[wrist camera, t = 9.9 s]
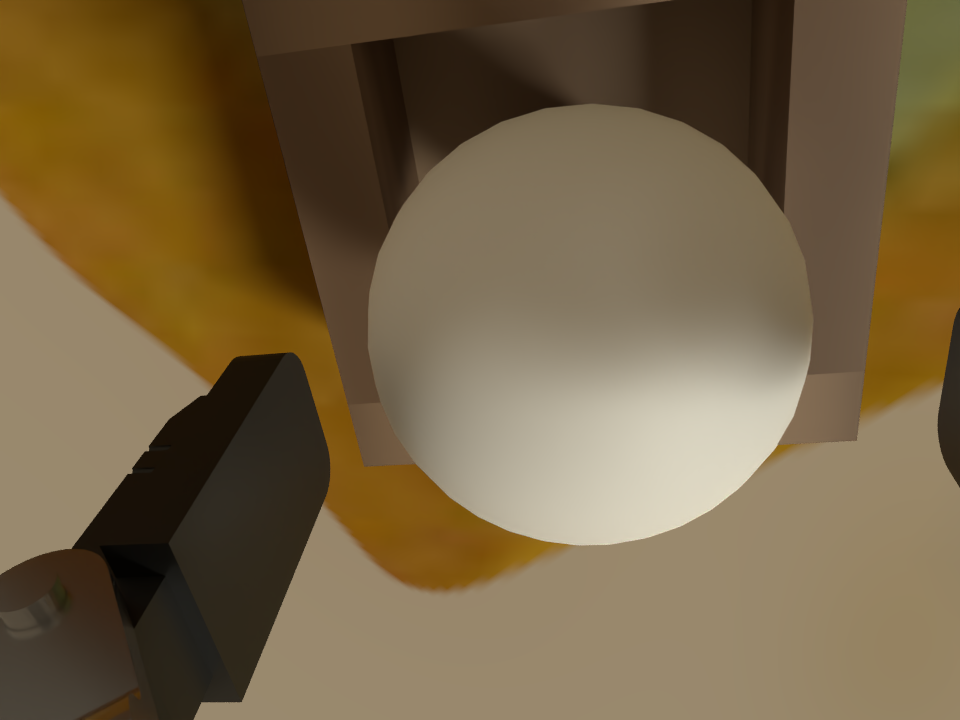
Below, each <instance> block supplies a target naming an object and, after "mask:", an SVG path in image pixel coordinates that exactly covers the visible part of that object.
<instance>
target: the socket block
mask: <svg viewBox="0 0 960 720" xmlns="http://www.w3.org/2000/svg"><path fill="white" fill-rule="evenodd" d="M242 3H243V6H244V10H245V14H246V18H247V22H248V25H249V29H250V33H251V37H252V41H253V44H254V48H255V52H256V56H257V60H258V63H259V67H260V71H261V75H262V79H263V82H264V86H265V90H266V94H267V98H268V102H269V105H270V109H271V113H272V117H273V121H274V124H275V128H276V132H277V136H278V140H279V143H280V147H281V151H282V155H283V159H284V162H285V166H286V170H287V174H288V178H289V181H290V185H291V189H292V193H293V197H294V201H295V204H296V208H297V212H298V216H299V220H300V223H301V227H302V231H303V235H304V239H305V242H306V246H307V250H308V254H309V258H310V261H311V265H312V269H313V273H314V277H315V280H316V284H317V288H318V292H319V296H320V300H321V303H322V307H323V311H324V315H325V319H326V322H327V326H328V330H329V334H330V338H331V341H332V345H333V349H334V353H335V357H336V360H337V364H338V368H339V372H340V376H341V379H342V383H343V387H344V391H345V395H346V399H347V402H348V406H349V410H350V414H351V418H352V421H353V425H354V429H355V433H356V437H357V440H358V444H359V448H360V452H361V456H362V459H363V463H364V466H383V465H402V464H415V462H414V461H413V460H412V458H411V457H410V455H409V454H408V452H407V451H406V450H405V448H404V447H403V445H402V444H401V442H400V441H399V439H398V438H397V437H396V435H395V434H394V431H393V429H392V427H391V425H390V422H389V420H388V418H387V415H386V413H385V411H384V408H383V406H382V404H381V402H380V398H379V395H378V391H377V388H376V385H375V380H374V375H373V370H372V365H371V360H370V356H369V351H368V307H369V292H370V287H371V283H372V279H373V274H374V270H375V266H376V261H377V257H378V253H379V251H380V249H381V247H382V245H383V243H384V241H385V239H386V237H387V234H388V232H389V230H390V228H391V226H392V224H393V222H394V220H395V218H396V216H397V214H398V212H399V211H400V209H401V208H402V206H403V204H404V203H405V202H406V200H407V199H408V198H409V196H410V195H411V194H412V193H413V191H414V190H415V189H416V187H417V186H418V185H419V183H420V182H421V181H422V180H423V178H424V177H425V176H426V174H427V173H428V172H429V171H430V170H431V169H432V168H433V167H435V166H436V165H437V164H438V163H439V162H441V161H442V160H443V159H444V158H445V157H446V156H448V155H449V154H450V153H451V152H452V151H453V150H455V149H456V148H457V147H458V146H459V145H461V144H462V143H464V142H465V141H467V140H469V139H471V138H473V137H474V136H476V135H478V134H480V133H482V132H484V131H485V130H487V129H489V128H491V127H493V126H495V125H496V124H498V123H500V122H502V121H506V120H509V119H512V118H515V117H519V116H522V115H525V114H528V113H532V112H535V111H538V110H541V109H545V108H553V107H563V106H573V105H583V104H601V105H611V106H621V107H631V108H640V109H643V110H646V111H649V112H652V113H655V114H659V115H662V116H665V117H668V118H671V119H675V120H678V121H681V122H684V123H685V124H687V125H689V126H691V127H692V128H694V129H696V130H698V131H700V132H701V133H703V134H705V135H707V136H708V137H710V138H712V139H714V140H715V141H717V142H719V143H721V144H722V145H724V146H725V147H726V148H727V149H728V150H729V151H730V152H731V153H732V154H734V155H735V156H736V157H737V158H738V159H739V160H740V161H741V162H742V163H744V164H745V165H746V166H747V167H748V168H749V169H750V170H751V171H752V172H754V173H755V174H756V176H757V177H758V178H759V180H760V181H761V182H762V184H763V185H764V186H765V188H766V189H767V191H768V192H769V194H770V195H771V196H772V198H773V199H774V201H775V202H776V204H777V205H778V206H779V208H780V209H781V211H782V212H783V214H784V215H785V216H786V218H787V219H788V221H789V222H790V225H791V227H792V230H793V232H794V235H795V237H796V240H797V242H798V245H799V247H800V250H801V252H802V255H803V257H804V260H805V264H806V271H807V278H808V285H809V291H810V298H811V305H812V313H813V332H812V344H811V356H810V363H809V367H808V371H807V375H806V379H805V382H804V386H803V389H802V392H801V395H800V398H799V401H798V404H797V407H796V411H795V414H794V417H793V418H792V420H791V422H790V423H789V425H788V427H787V429H786V430H785V432H784V434H783V436H782V437H781V439H780V441H779V443H778V444H777V445H782V444H801V443H820V442H838V441H856V440H857V434H858V425H859V417H860V408H861V399H862V390H863V382H864V373H865V364H866V356H867V347H868V338H869V329H870V321H871V312H872V303H873V295H874V286H875V277H876V268H877V260H878V251H879V242H880V233H881V225H882V216H883V207H884V199H885V190H886V181H887V172H888V164H889V155H890V146H891V138H892V129H893V120H894V111H895V103H896V94H897V85H898V76H899V68H900V59H901V50H902V42H903V33H904V24H905V15H906V7H907V0H242Z"/></svg>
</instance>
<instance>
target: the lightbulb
mask: <svg viewBox="0 0 960 720" xmlns="http://www.w3.org/2000/svg"><path fill="white" fill-rule="evenodd" d="M812 332H813V313H812V305H811V298H810V291H809V285H808V278H807V271H806V264H805V260H804V257H803V255H802V252H801V250H800V247H799V245H798V242H797V240H796V237H795V235H794V232H793V230H792V227H791V225H790V222H789V221H788V219H787V218H786V216H785V215H784V214H783V212H782V211H781V209H780V208H779V206H778V205H777V204H776V202H775V201H774V199H773V198H772V196H771V195H770V194H769V192H768V191H767V189H766V188H765V186H764V185H763V184H762V182H761V181H760V180H759V178H758V177H757V176H756V174H755V173H754V172H752V171H751V170H750V169H749V168H748V167H747V166H746V165H745V164H744V163H742V162H741V161H740V160H739V159H738V158H737V157H736V156H735V155H734V154H732V153H731V152H730V151H729V150H728V149H727V148H726V147H725V146H724V145H722V144H721V143H719V142H717V141H715V140H714V139H712V138H710V137H708V136H707V135H705V134H703V133H701V132H700V131H698V130H696V129H694V128H692V127H691V126H689V125H687V124H685V123H684V122H681V121H678V120H675V119H671V118H668V117H665V116H662V115H659V114H655V113H652V112H649V111H646V110H643V109H640V108H631V107H621V106H611V105H601V104H583V105H573V106H563V107H553V108H545V109H541V110H538V111H535V112H532V113H528V114H525V115H522V116H519V117H515V118H512V119H509V120H506V121H502V122H500V123H498V124H496V125H495V126H493V127H491V128H489V129H487V130H485V131H484V132H482V133H480V134H478V135H476V136H474V137H473V138H471V139H469V140H467V141H465V142H464V143H462V144H461V145H459V146H458V147H457V148H456V149H455V150H453V151H452V152H451V153H450V154H449V155H448V156H446V157H445V158H444V159H443V160H442V161H441V162H439V163H438V164H437V165H436V166H435V167H433V168H432V169H431V170H430V171H429V172H428V173H427V174H426V176H425V177H424V178H423V180H422V181H421V182H420V183H419V185H418V186H417V187H416V189H415V190H414V191H413V193H412V194H411V195H410V196H409V198H408V199H407V200H406V202H405V203H404V204H403V206H402V208H401V209H400V211H399V212H398V214H397V216H396V218H395V220H394V222H393V224H392V226H391V228H390V230H389V232H388V234H387V237H386V239H385V241H384V243H383V245H382V247H381V249H380V251H379V253H378V257H377V261H376V266H375V270H374V274H373V279H372V283H371V287H370V292H369V307H368V351H369V356H370V360H371V365H372V370H373V375H374V380H375V385H376V388H377V391H378V395H379V398H380V402H381V404H382V406H383V408H384V411H385V413H386V415H387V418H388V420H389V422H390V425H391V427H392V429H393V431H394V434H395V435H396V437H397V438H398V439H399V441H400V442H401V444H402V445H403V447H404V448H405V450H406V451H407V452H408V454H409V455H410V457H411V458H412V460H413V461H414V462H415V464H416V465H417V466H419V467H420V468H421V469H422V470H423V471H424V472H425V473H426V474H427V475H428V476H429V477H430V478H431V479H432V480H433V481H434V482H435V483H436V484H437V485H438V486H439V487H440V488H441V489H442V490H443V491H444V492H445V493H446V494H447V495H448V496H449V497H450V498H451V499H453V500H454V501H456V502H457V503H459V504H460V505H462V506H463V507H465V508H466V509H467V510H469V511H470V512H472V513H473V514H475V515H476V516H478V517H480V518H482V519H484V520H486V521H488V522H490V523H493V524H495V525H497V526H499V527H501V528H503V529H505V530H508V531H510V532H514V533H517V534H521V535H524V536H528V537H531V538H535V539H538V540H542V541H548V542H556V543H564V544H571V545H609V544H616V543H622V542H627V541H633V540H639V539H644V538H648V537H651V536H654V535H657V534H660V533H663V532H666V531H669V530H671V529H675V528H677V527H680V526H682V525H684V524H686V523H688V522H690V521H692V520H694V519H695V518H697V517H699V516H701V515H703V514H705V513H707V512H708V511H710V510H712V509H713V508H714V507H716V506H717V505H718V504H720V503H721V502H722V501H723V500H725V499H726V498H727V497H729V496H730V495H731V494H732V493H734V492H735V491H736V490H737V489H739V488H740V487H741V486H742V485H743V484H744V483H745V482H746V481H747V480H748V479H749V478H750V477H751V475H752V474H753V473H754V472H755V471H756V470H757V469H758V467H759V466H760V465H761V464H762V463H763V462H764V461H765V459H766V458H767V457H768V456H769V455H770V454H771V453H772V452H773V450H774V449H775V448H776V446H777V444H778V443H779V441H780V439H781V437H782V436H783V434H784V432H785V430H786V429H787V427H788V425H789V423H790V422H791V420H792V418H793V417H794V414H795V411H796V407H797V404H798V401H799V398H800V395H801V392H802V389H803V386H804V382H805V379H806V375H807V371H808V367H809V363H810V356H811V344H812Z"/></svg>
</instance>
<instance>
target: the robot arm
mask: <svg viewBox="0 0 960 720" xmlns="http://www.w3.org/2000/svg"><path fill="white" fill-rule="evenodd" d="M938 437H939V443H940V448H941V452H942V455H943V459H944V461H945V463H946V465H947V467H948V469H949V471H950V472H951V474H952V476H953V477H954V479H955V481H956V482H957V484H958V485H959V487H960V308H959V310H958V312H957V314H956V317H955V320H954V325H953V330H952V336H951V342H950V348H949V354H948V360H947V366H946V372H945V378H944V383H943V389H942V395H941V401H940V407H939V413H938ZM132 469H133V473H132V474H127V476H126V477H125V479H124V480H123V481H122V482H121V484H120V485H119V486H118V488H117V489H116V490H115V492H114V493H113V494H112V496H111V497H110V498H109V500H108V501H107V502H106V504H105V505H104V506H103V508H102V509H101V510H100V512H99V513H98V514H97V516H96V517H95V518H94V519H93V521H92V522H91V523H90V525H89V526H88V527H87V529H86V530H85V531H84V533H83V534H82V536H81V537H80V538H79V539H78V541H77V542H76V543H75V545H74V546H73V547H72V549H65V550H58V551H53V552H50V553H46V554H42V555H39V556H37V557H34V558H31V559H29V560H27V561H24V562H22V563H20V564H18V565H16V566H14V567H12V568H11V569H9V570H7V571H6V572H4V573H2V574H1V575H0V720H193V719H194V717H195V715H196V713H197V711H198V709H199V706H200V704H201V702H242V700H243V698H244V695H245V693H246V690H247V688H248V685H249V683H250V680H251V678H252V675H253V673H254V670H255V668H256V666H257V663H258V661H259V658H260V656H261V653H262V651H263V649H264V646H265V644H266V641H267V639H268V636H269V634H270V631H271V629H272V626H273V624H274V622H275V619H276V617H277V614H278V612H279V610H280V607H281V605H282V602H283V599H284V597H285V594H286V592H287V590H288V588H289V585H290V583H291V580H292V578H293V575H294V573H295V570H296V568H297V565H298V563H299V561H300V558H301V556H302V553H303V551H304V548H305V546H306V544H307V541H308V539H309V536H310V534H311V531H312V528H313V526H314V524H315V521H316V519H317V517H318V514H319V512H320V509H321V507H322V504H323V502H324V499H325V497H326V494H327V491H328V487H329V481H330V458H329V451H328V447H327V443H326V440H325V437H324V433H323V430H322V427H321V423H320V420H319V417H318V413H317V410H316V407H315V403H314V400H313V397H312V393H311V390H310V387H309V384H308V380H307V377H306V374H305V370H304V368H303V365H302V363H301V361H300V359H299V358H298V357H297V356H296V355H295V354H294V353H277V354H264V355H251V356H239V357H236V358H234V359H233V360H232V361H231V362H230V364H229V365H228V367H227V368H226V369H225V371H224V372H223V374H222V375H221V376H220V378H219V379H218V381H217V382H216V383H215V385H214V386H213V388H212V389H211V390H210V392H209V393H208V395H206V396H200V397H198V398H197V399H196V400H194V401H193V402H192V403H191V404H189V405H188V406H186V407H185V408H184V409H182V410H181V411H180V412H179V413H177V414H176V415H175V416H173V417H172V418H170V419H169V420H168V422H167V423H166V424H165V425H164V427H163V428H162V430H161V431H160V432H159V434H158V435H157V436H156V437H155V439H154V440H153V441H152V443H151V444H150V445H149V451H146V452H144V453H143V455H142V456H141V457H140V459H139V460H138V461H137V463H136V464H135V465H134V467H133V468H132Z"/></svg>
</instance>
